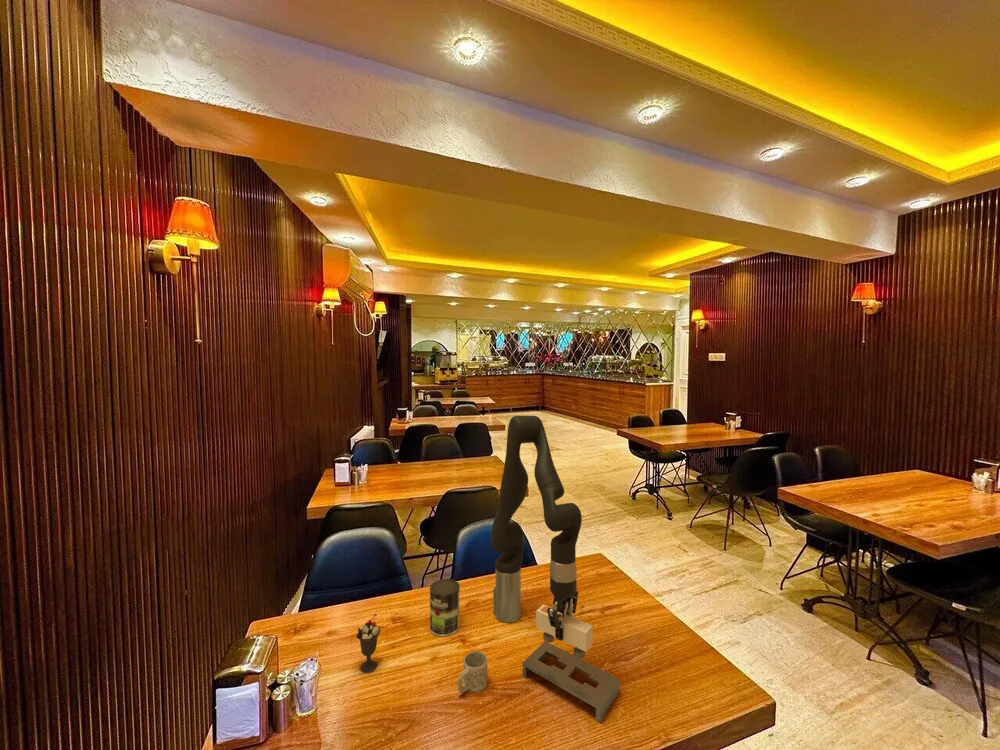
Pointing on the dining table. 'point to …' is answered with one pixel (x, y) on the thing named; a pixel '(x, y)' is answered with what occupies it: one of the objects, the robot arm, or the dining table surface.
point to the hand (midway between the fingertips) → (563, 634)
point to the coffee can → (444, 607)
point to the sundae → (368, 644)
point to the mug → (474, 673)
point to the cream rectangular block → (567, 631)
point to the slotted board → (595, 697)
